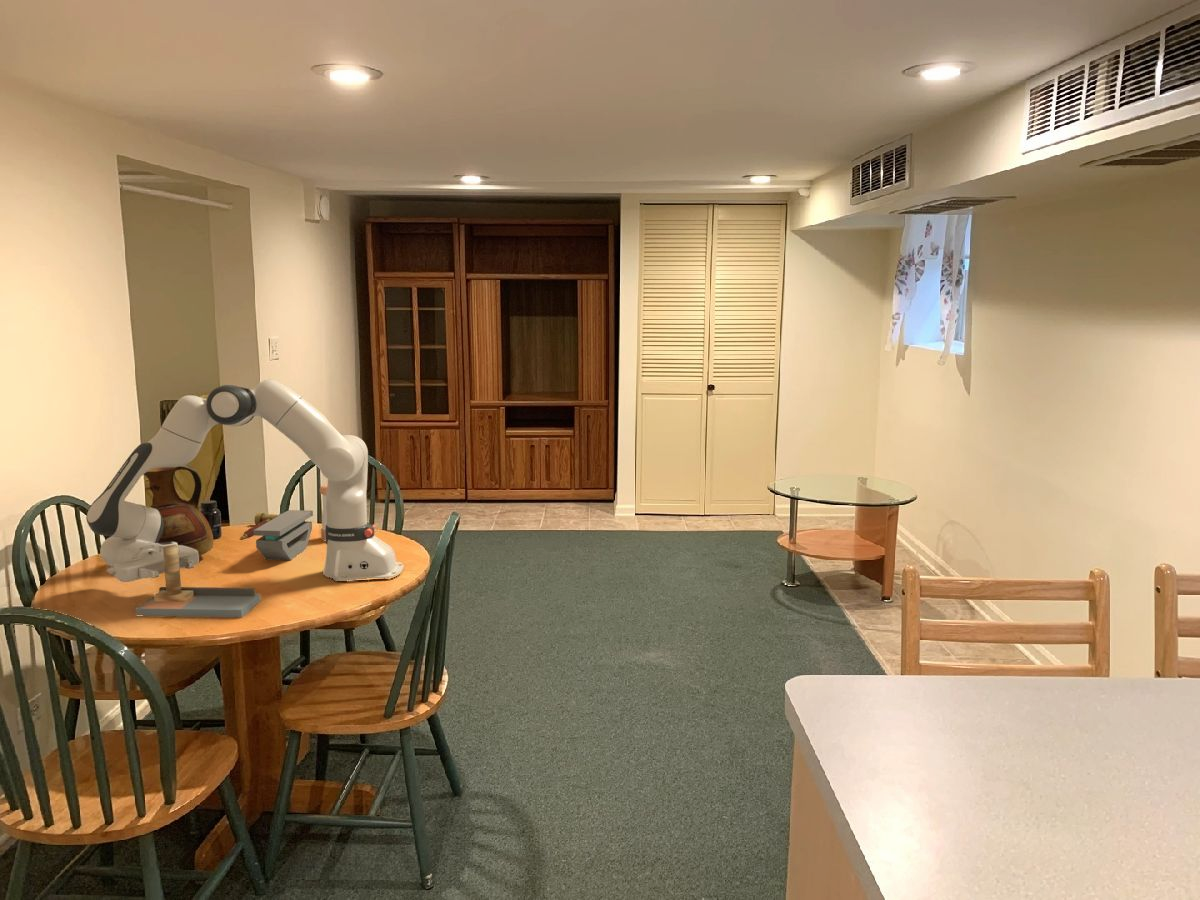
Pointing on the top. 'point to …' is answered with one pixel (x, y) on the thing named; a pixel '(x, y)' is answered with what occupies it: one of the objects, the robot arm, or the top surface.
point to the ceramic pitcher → (180, 510)
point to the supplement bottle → (212, 517)
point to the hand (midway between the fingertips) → (174, 569)
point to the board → (204, 603)
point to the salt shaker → (324, 510)
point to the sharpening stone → (284, 535)
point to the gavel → (259, 523)
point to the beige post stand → (172, 578)
